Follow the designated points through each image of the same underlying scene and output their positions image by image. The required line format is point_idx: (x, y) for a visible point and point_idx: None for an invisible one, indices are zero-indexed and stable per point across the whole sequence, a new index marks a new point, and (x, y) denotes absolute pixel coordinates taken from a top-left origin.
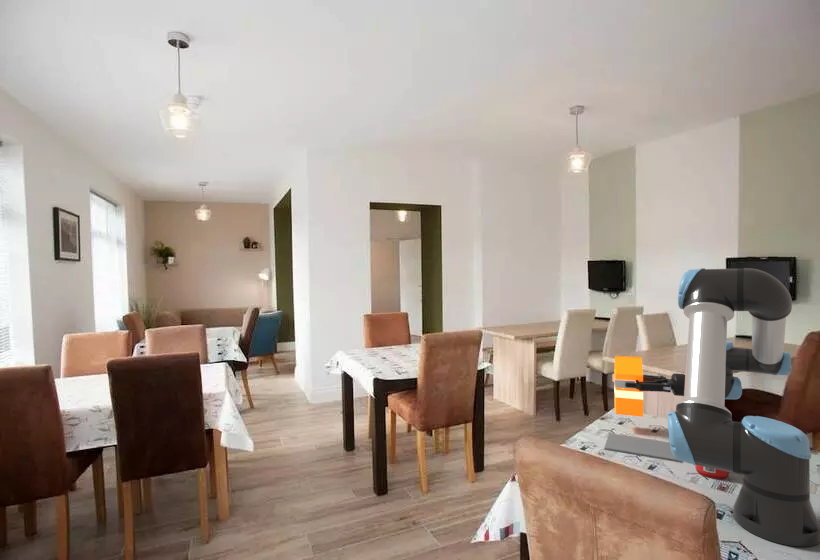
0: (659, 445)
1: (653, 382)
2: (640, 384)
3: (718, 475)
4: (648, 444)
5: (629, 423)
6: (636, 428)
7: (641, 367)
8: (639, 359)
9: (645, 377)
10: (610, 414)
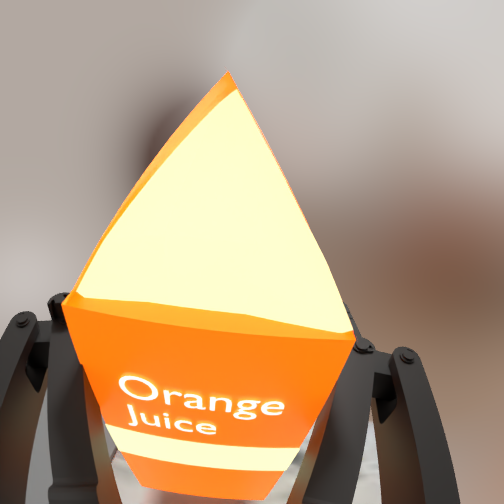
0: (36, 501)
1: (51, 455)
2: (16, 321)
3: None
4: (42, 472)
5: (291, 482)
6: (234, 500)
7: (111, 222)
8: (203, 104)
9: (321, 438)
10: (368, 423)
